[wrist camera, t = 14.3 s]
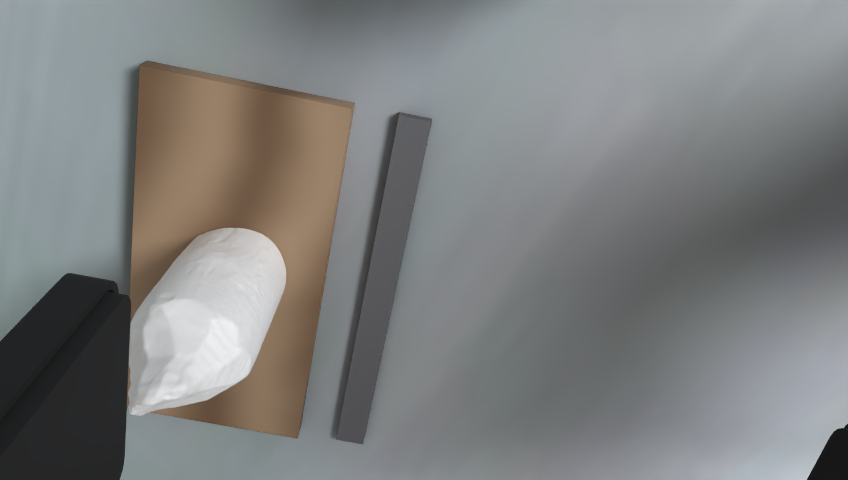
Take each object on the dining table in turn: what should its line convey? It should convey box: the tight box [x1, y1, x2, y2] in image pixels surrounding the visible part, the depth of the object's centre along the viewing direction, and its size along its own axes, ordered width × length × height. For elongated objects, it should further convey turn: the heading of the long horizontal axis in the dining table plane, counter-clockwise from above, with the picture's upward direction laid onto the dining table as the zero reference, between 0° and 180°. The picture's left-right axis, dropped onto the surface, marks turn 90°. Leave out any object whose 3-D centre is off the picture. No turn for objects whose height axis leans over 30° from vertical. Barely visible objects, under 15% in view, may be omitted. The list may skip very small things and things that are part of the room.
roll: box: [128, 228, 286, 416], centre depth 35 cm, size 6×12×6 cm
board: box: [127, 61, 355, 438], centre depth 41 cm, size 10×20×1 cm, turn 169°
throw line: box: [336, 112, 432, 444], centre depth 41 cm, size 2×20×1 cm, turn 168°
